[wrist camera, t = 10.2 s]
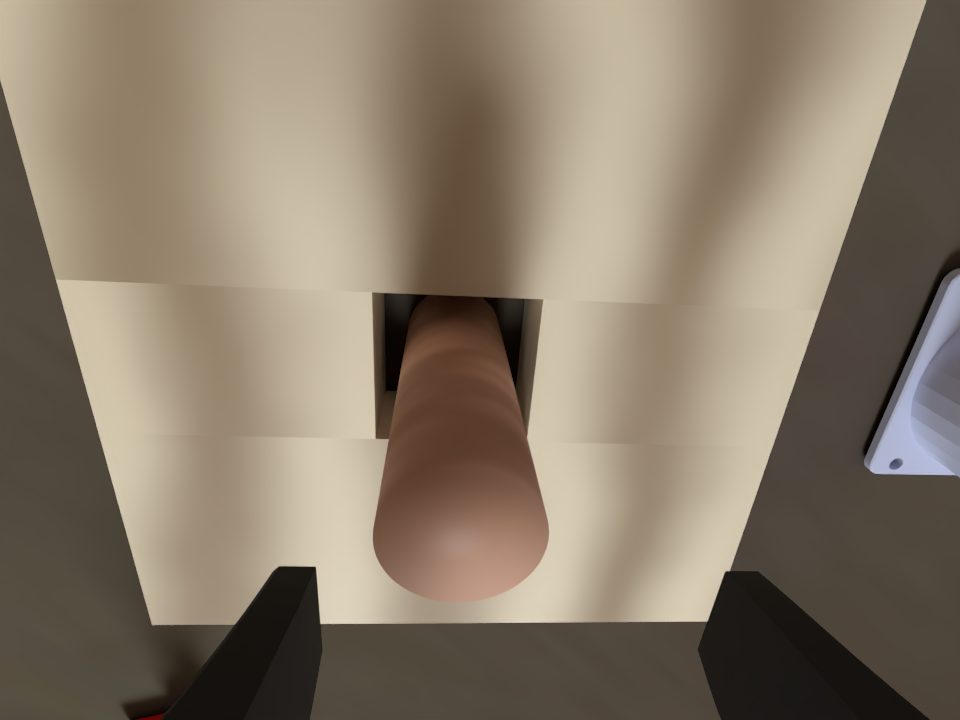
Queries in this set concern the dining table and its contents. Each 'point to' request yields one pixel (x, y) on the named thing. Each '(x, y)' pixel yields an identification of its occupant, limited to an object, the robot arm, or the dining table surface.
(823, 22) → the socket block
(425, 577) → the peg
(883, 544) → the dining table surface
